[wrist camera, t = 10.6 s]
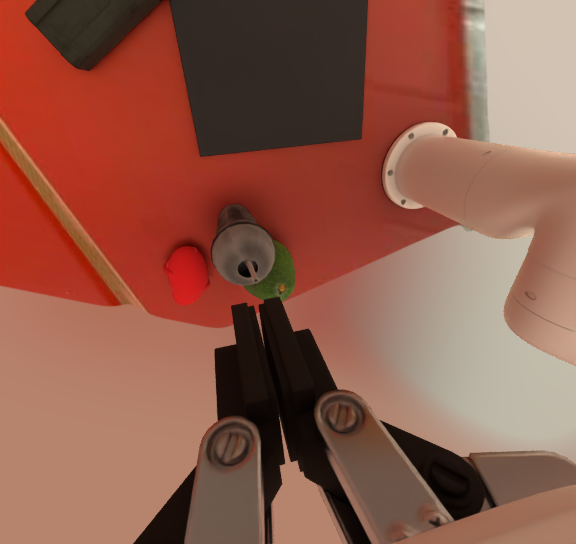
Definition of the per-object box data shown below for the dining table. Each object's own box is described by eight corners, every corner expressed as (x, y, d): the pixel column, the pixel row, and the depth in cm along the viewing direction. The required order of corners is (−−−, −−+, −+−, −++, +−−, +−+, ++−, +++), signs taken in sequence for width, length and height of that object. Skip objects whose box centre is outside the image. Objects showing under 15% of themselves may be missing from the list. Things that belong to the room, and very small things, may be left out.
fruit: (229, 233, 46) (237, 272, 36) (281, 224, 47) (303, 258, 37) (239, 279, 50) (248, 326, 40) (286, 269, 51) (308, 312, 41)
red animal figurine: (160, 242, 44) (155, 261, 39) (204, 238, 45) (204, 255, 40) (171, 290, 48) (167, 312, 43) (211, 285, 49) (212, 306, 44)
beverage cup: (206, 240, 45) (209, 324, 28) (210, 190, 42) (216, 252, 25) (255, 244, 48) (285, 325, 31) (263, 197, 44) (300, 258, 27)
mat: (369, -88, 33) (372, -90, 32) (359, 138, 44) (361, 139, 43) (151, -93, 29) (150, -96, 28) (200, 156, 40) (200, 156, 39)
